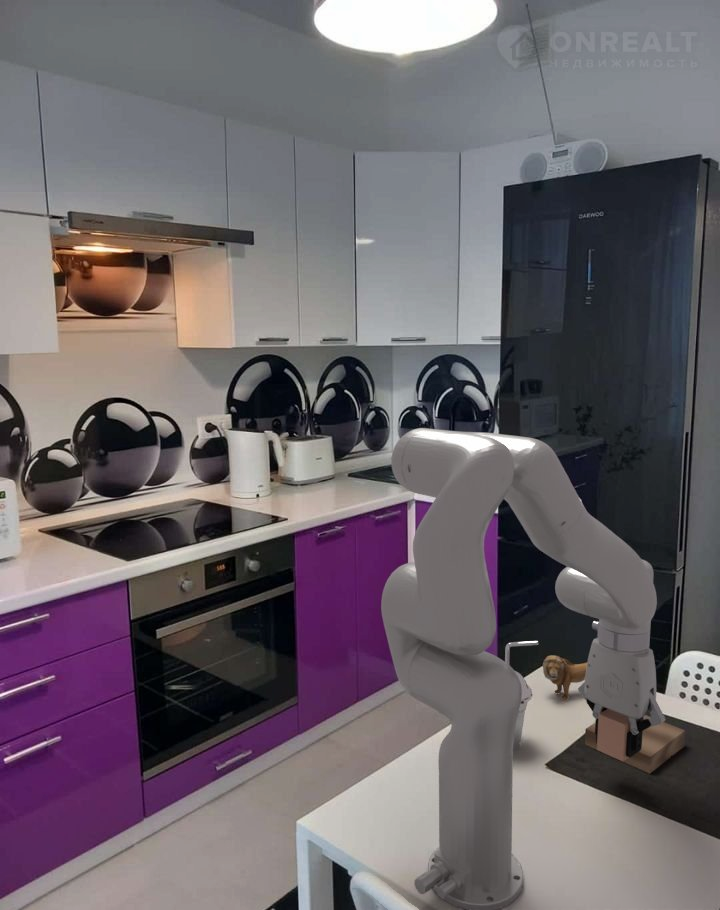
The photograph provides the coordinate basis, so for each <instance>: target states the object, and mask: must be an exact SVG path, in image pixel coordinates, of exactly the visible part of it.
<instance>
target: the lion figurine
mask: <svg viewBox="0 0 720 910" xmlns="http://www.w3.org/2000/svg"><path fill="white" fill-rule="evenodd" d="M586 667H587V662H584V663H579V664H578V663H577V664H574V663H572V662H570V661H569V659H566V658H564V657H563V658H562V657H560V656H559V655H555V654H554V655H548V656H546V658H545V659H544V660H543V663H542V669H543V670H542V671H543V675H544V677H545V678H546V679H548V680H549V681H550V682H551V683H552V684H553V685H556V689H555V690H554V692H555V693H560V694H561V693H562V691H563V695H562V696H561V700H562V699H563V700H562V701H568V700H569V697H570V693H569V690H570V686H571V683H572V684H573V683H574V684H575V683H581V682H585V675H586ZM554 692H553V693H554ZM555 693H554V694H555Z"/></svg>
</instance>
